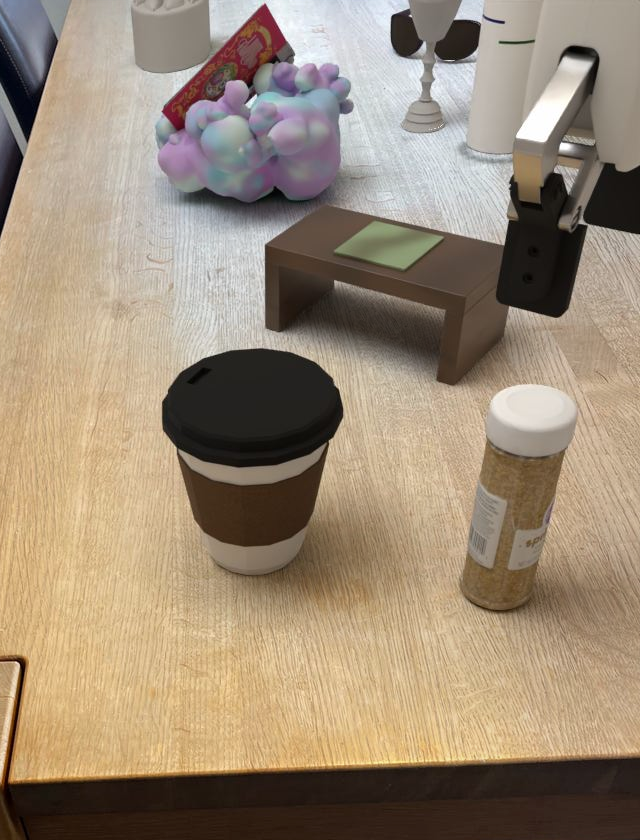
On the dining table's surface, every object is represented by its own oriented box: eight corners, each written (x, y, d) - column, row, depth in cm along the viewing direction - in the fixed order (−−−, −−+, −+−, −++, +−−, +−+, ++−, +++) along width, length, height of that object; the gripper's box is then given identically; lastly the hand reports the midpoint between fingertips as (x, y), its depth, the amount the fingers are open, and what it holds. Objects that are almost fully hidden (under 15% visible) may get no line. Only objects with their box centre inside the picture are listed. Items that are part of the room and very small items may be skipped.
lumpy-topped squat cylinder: (215, 42, 146) (213, -28, 140) (199, 71, 138) (196, -1, 132) (146, 44, 149) (140, -25, 142) (126, 73, 140) (119, 2, 134)
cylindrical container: (492, 125, 116) (532, -146, 98) (545, 139, 112) (597, -142, 94) (452, 143, 113) (486, -132, 95) (505, 158, 109) (551, -127, 91)
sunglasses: (378, 55, 137) (380, 13, 133) (431, 23, 145) (435, -18, 141) (471, 67, 130) (477, 24, 127) (522, 32, 138) (528, -10, 135)
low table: (504, 335, 84) (520, 245, 78) (453, 385, 79) (466, 294, 74) (320, 285, 93) (323, 201, 87) (264, 327, 88) (264, 241, 82)
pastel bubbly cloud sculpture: (286, 203, 94) (340, -11, 89) (94, 165, 102) (131, -34, 96) (348, 236, 112) (396, 59, 106) (180, 201, 120) (216, 35, 114)
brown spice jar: (536, 615, 61) (585, 428, 52) (459, 611, 62) (493, 426, 52) (529, 565, 64) (574, 380, 55) (456, 562, 65) (487, 379, 55)
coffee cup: (141, 567, 67) (122, 413, 59) (226, 479, 73) (220, 328, 65) (285, 623, 62) (288, 465, 54) (363, 524, 68) (376, 368, 60)
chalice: (380, 122, 119) (393, -58, 107) (426, 109, 121) (444, -70, 108) (418, 140, 115) (436, -46, 102) (466, 126, 116) (490, -59, 104)
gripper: (710, -157, 29) (577, 368, 41) (863, -236, 38) (718, 215, 50) (470, -163, 33) (413, 322, 45) (662, -234, 42) (572, 187, 54)
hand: (574, 265), depth 48 cm, fingers open, 9 cm apart
